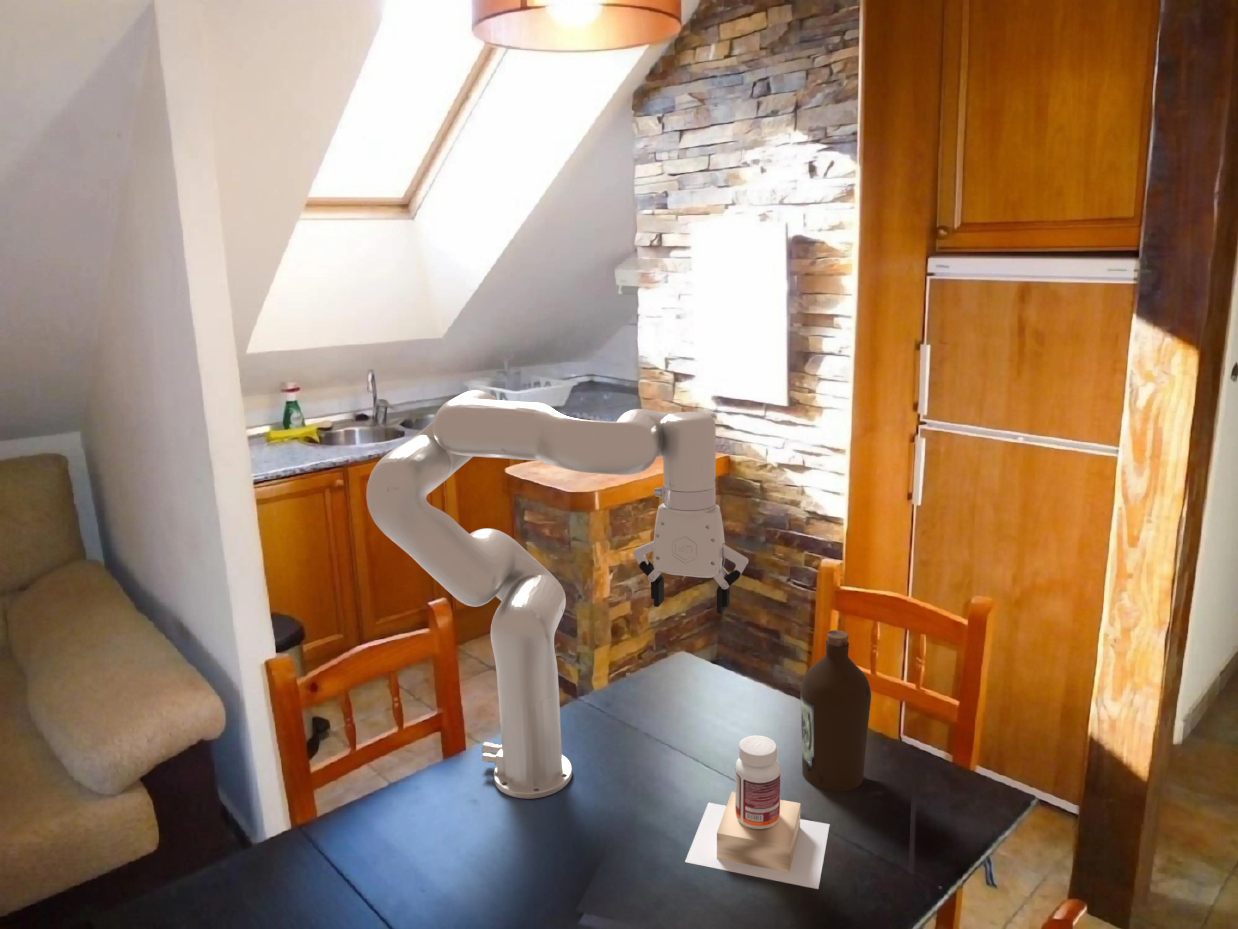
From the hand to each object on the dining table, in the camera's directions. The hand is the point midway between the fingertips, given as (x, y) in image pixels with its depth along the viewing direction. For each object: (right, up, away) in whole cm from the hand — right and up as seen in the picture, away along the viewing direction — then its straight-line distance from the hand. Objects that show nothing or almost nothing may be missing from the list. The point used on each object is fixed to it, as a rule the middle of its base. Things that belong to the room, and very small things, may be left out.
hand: (689, 607), depth 135 cm
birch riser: (+9, -32, -8) cm, 34 cm away
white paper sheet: (+9, -33, -8) cm, 35 cm away
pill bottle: (+9, -28, -9) cm, 31 cm away
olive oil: (+23, -29, +8) cm, 38 cm away
